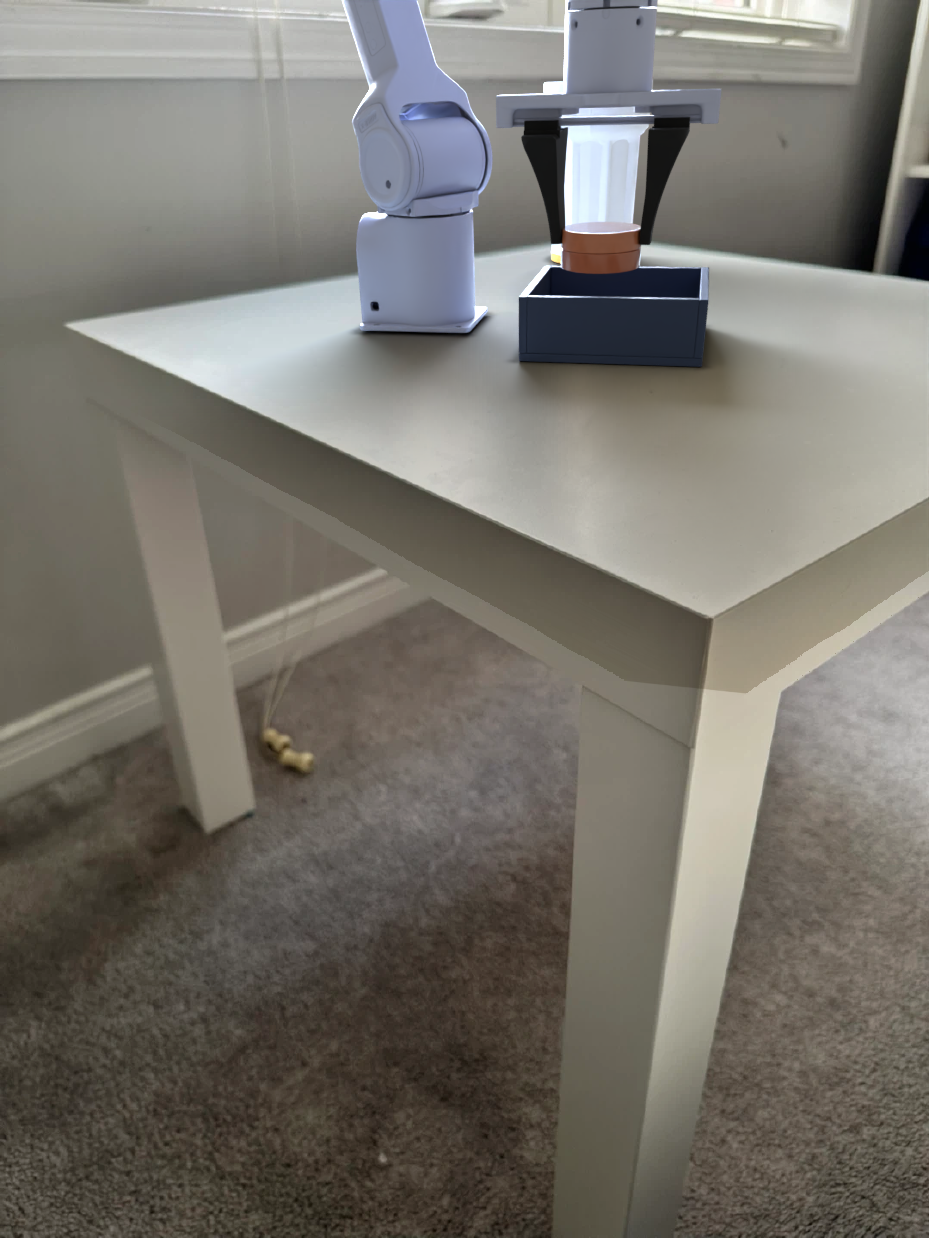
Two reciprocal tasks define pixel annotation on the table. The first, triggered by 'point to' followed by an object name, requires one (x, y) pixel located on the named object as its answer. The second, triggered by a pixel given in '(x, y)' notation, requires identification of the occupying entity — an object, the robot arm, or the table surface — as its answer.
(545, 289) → the tub
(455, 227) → the robot arm
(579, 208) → the cup
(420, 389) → the table surface
